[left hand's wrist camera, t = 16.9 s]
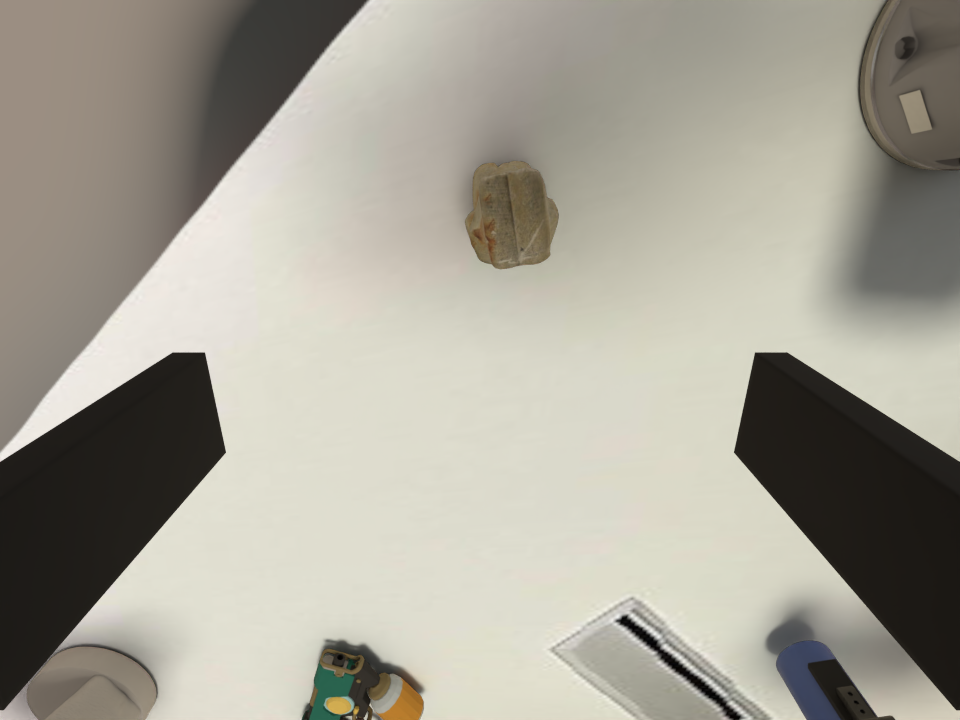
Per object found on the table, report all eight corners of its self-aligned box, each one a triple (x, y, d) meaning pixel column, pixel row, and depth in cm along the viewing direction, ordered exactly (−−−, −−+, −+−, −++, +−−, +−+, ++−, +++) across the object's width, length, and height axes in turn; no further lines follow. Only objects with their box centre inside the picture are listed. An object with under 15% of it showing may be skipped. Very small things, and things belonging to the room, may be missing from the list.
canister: (765, 660, 55) (818, 752, 47) (811, 631, 54) (875, 722, 45) (794, 686, 57) (851, 780, 48) (841, 659, 55) (908, 752, 47)
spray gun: (378, 752, 66) (273, 703, 63) (448, 685, 60) (336, 627, 57) (369, 791, 62) (257, 740, 59) (443, 723, 56) (322, 663, 53)
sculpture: (540, 158, 39) (574, 158, 25) (543, 253, 42) (575, 301, 28) (464, 164, 39) (456, 167, 25) (472, 258, 42) (468, 308, 28)
